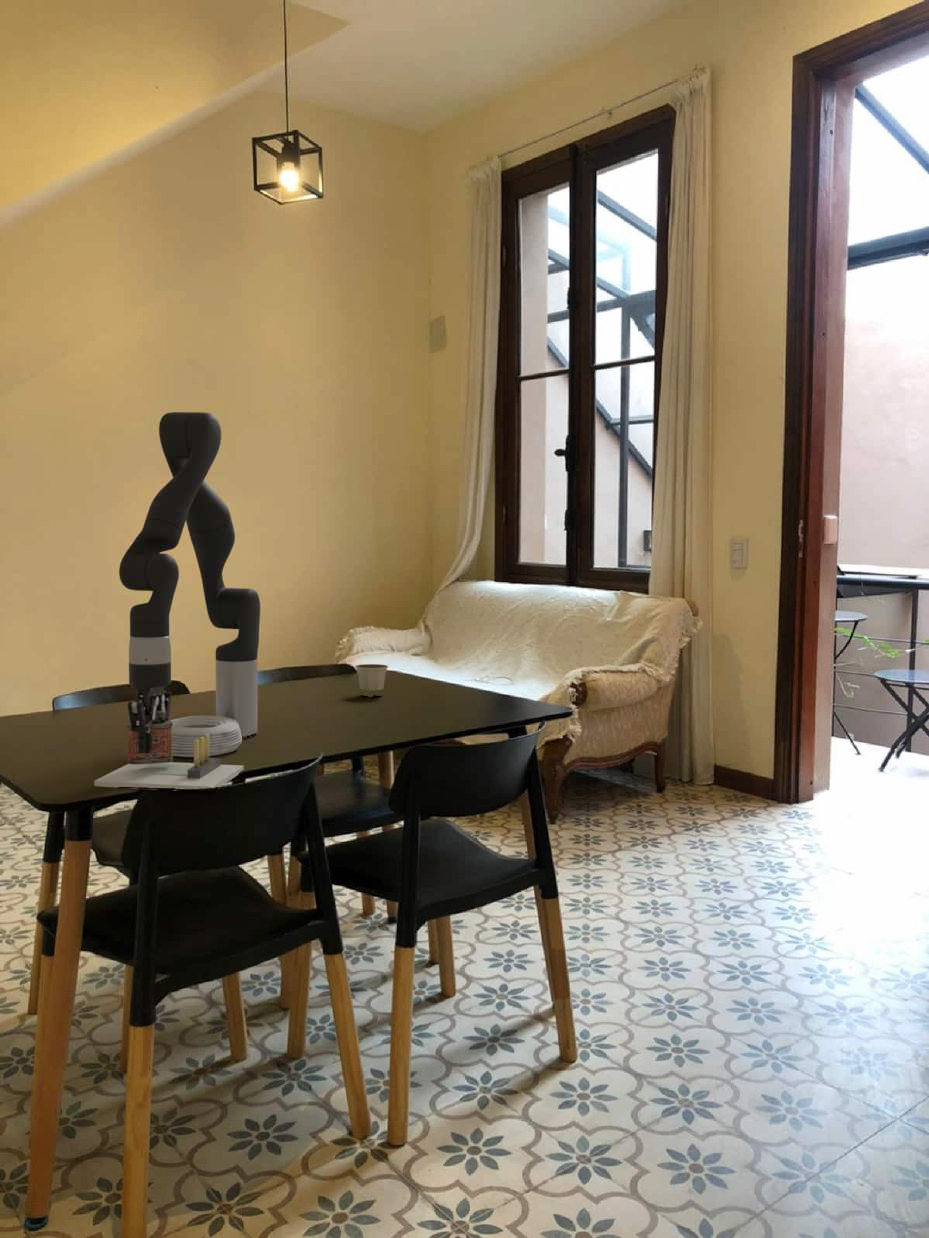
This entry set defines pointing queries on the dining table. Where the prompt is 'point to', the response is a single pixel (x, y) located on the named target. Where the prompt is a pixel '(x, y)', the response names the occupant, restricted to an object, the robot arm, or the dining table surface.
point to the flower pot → (371, 676)
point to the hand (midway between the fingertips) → (150, 749)
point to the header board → (175, 772)
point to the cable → (191, 728)
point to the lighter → (153, 742)
